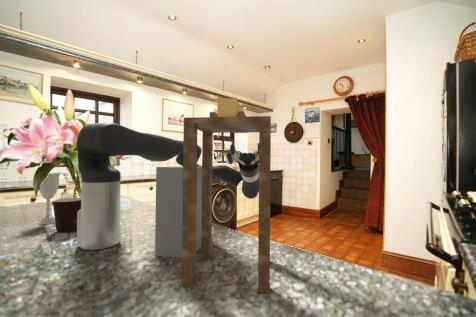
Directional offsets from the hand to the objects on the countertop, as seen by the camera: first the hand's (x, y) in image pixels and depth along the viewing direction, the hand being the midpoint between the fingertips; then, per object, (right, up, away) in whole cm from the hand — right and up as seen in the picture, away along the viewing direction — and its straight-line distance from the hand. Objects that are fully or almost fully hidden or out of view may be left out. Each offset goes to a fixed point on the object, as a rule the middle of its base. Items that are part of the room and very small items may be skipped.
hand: (245, 145), depth 75 cm
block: (-17, -28, -13) cm, 35 cm away
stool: (-4, -28, -27) cm, 39 cm away
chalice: (-73, -28, +10) cm, 78 cm away
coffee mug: (-58, -28, +3) cm, 65 cm away
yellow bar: (-3, +3, -22) cm, 23 cm away
